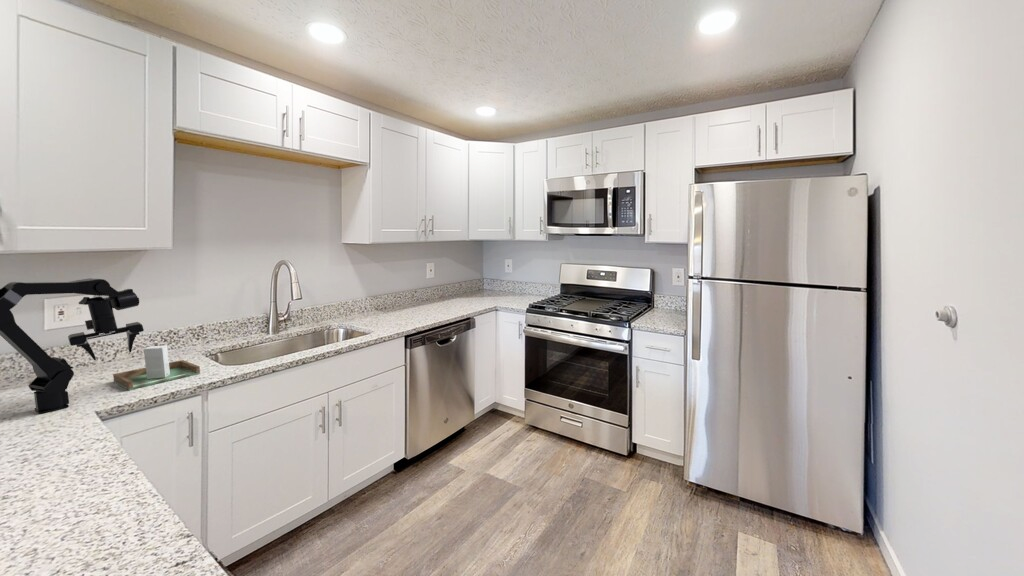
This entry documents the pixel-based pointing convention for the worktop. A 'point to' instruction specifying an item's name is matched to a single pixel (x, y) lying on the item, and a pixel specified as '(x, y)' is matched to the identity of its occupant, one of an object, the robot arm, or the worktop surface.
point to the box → (139, 378)
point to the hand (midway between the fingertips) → (113, 355)
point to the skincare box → (156, 362)
